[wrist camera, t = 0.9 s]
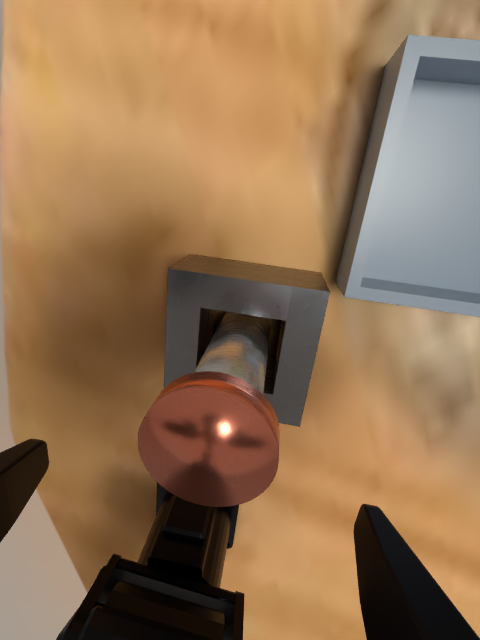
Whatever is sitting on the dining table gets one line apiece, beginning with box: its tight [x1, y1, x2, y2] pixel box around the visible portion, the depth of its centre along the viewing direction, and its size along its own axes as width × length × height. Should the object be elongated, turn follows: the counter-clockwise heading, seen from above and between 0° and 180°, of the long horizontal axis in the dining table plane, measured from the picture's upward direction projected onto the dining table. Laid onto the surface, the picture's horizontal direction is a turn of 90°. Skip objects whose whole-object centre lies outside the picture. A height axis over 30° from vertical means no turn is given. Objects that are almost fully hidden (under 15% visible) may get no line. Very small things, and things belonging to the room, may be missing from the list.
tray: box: [336, 35, 480, 317], centre depth 15 cm, size 10×10×3 cm
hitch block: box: [164, 254, 330, 427], centre depth 18 cm, size 8×8×4 cm
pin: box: [138, 311, 279, 507], centre depth 15 cm, size 4×4×11 cm
